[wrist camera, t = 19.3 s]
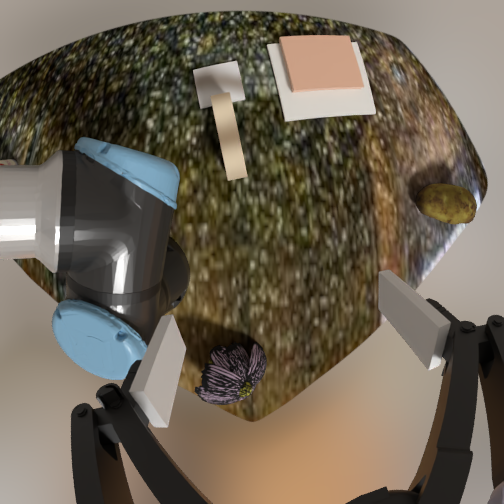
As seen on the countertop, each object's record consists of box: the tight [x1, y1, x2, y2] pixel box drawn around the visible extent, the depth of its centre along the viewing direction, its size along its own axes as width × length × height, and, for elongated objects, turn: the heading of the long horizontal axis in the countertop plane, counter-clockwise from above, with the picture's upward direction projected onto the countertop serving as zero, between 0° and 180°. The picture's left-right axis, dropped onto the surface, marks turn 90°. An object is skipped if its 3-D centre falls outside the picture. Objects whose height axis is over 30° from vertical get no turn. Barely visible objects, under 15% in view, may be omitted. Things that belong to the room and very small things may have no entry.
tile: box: [279, 35, 364, 93], centre depth 34 cm, size 12×2×10 cm
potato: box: [416, 183, 477, 224], centre depth 39 cm, size 8×13×8 cm, turn 74°
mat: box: [267, 42, 376, 122], centre depth 36 cm, size 16×14×1 cm
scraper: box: [193, 61, 247, 181], centre depth 35 cm, size 19×7×6 cm, turn 11°
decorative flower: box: [195, 342, 266, 405], centre depth 48 cm, size 15×12×15 cm
